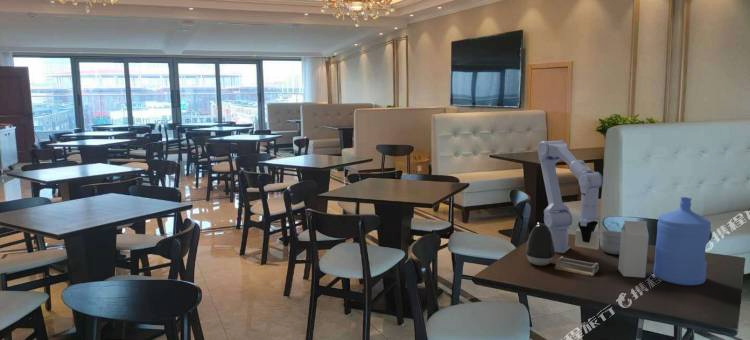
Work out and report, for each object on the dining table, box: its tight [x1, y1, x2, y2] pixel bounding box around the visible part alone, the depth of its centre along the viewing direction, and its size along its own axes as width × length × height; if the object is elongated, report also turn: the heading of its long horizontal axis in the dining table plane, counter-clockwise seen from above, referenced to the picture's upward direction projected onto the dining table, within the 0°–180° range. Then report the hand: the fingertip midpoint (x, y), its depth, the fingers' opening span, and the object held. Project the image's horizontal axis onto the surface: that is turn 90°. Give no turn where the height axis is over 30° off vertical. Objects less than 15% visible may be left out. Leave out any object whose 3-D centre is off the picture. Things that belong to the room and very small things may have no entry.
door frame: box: [554, 256, 600, 277], centre depth 192 cm, size 9×13×3 cm
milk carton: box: [617, 220, 650, 279], centre depth 186 cm, size 7×7×19 cm
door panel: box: [574, 228, 601, 251], centre depth 197 cm, size 2×8×6 cm, turn 55°
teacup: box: [599, 230, 621, 256], centre depth 210 cm, size 14×11×8 cm
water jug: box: [652, 196, 712, 286], centre depth 181 cm, size 16×16×28 cm
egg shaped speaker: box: [525, 222, 556, 267], centre depth 197 cm, size 10×10×15 cm
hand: (586, 241), depth 197 cm, fingers closed on door panel, 2 cm apart
